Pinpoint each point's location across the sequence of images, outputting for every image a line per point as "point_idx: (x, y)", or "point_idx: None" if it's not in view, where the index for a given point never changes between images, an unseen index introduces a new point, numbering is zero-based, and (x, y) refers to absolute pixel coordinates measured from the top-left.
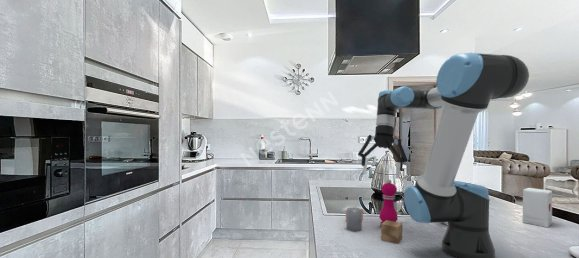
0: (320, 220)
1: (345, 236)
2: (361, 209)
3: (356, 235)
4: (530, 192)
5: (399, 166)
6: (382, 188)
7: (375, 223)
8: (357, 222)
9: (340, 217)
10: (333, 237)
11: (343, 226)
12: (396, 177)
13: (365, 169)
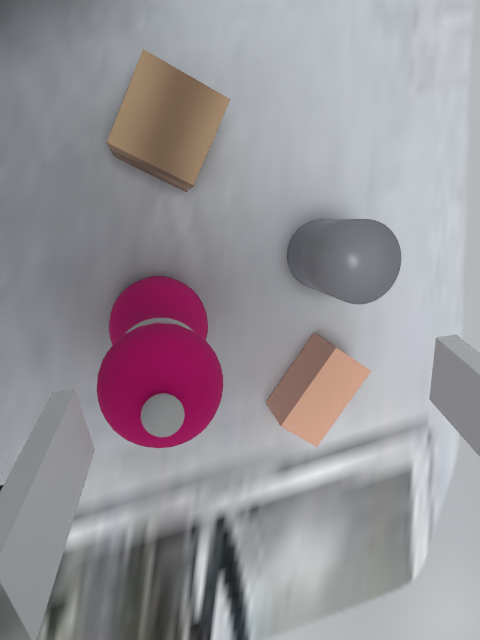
0: None
1: (365, 144)
2: (289, 417)
3: (318, 166)
4: None
5: (4, 507)
6: (219, 363)
7: None
8: (325, 221)
9: (361, 410)
10: (414, 122)
11: None
12: (83, 426)
13: (476, 359)
